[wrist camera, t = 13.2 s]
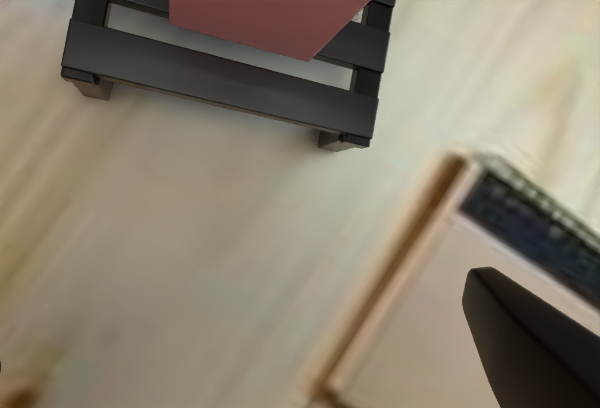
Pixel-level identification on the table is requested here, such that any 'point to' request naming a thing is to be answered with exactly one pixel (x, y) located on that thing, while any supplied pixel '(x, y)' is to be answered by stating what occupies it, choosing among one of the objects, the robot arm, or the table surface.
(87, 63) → the rack
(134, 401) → the table surface
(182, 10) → the pink box
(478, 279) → the robot arm
